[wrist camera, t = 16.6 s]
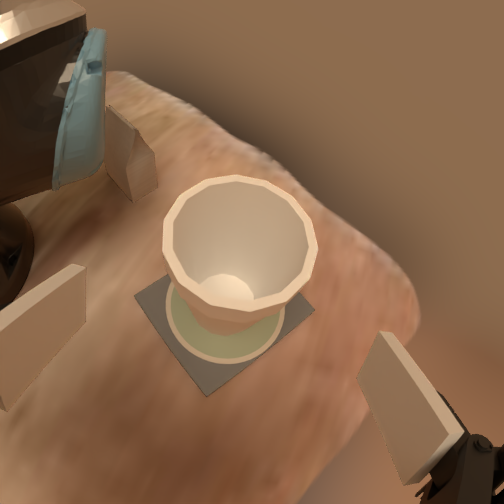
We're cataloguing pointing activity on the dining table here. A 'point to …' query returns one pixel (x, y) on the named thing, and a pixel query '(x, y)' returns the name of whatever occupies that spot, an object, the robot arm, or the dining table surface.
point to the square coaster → (210, 345)
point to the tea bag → (128, 157)
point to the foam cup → (237, 251)
